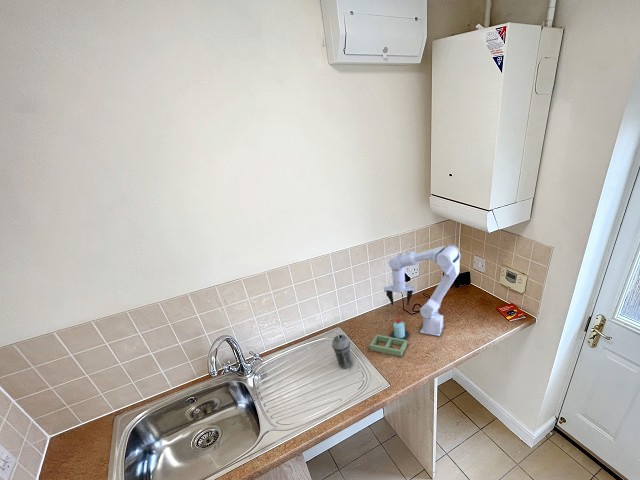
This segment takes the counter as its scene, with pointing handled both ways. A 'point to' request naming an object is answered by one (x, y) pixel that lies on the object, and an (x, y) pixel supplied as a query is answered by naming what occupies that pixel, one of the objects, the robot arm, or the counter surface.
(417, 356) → the counter surface
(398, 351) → the bottle rack
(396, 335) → the bottle
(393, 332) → the coaster
